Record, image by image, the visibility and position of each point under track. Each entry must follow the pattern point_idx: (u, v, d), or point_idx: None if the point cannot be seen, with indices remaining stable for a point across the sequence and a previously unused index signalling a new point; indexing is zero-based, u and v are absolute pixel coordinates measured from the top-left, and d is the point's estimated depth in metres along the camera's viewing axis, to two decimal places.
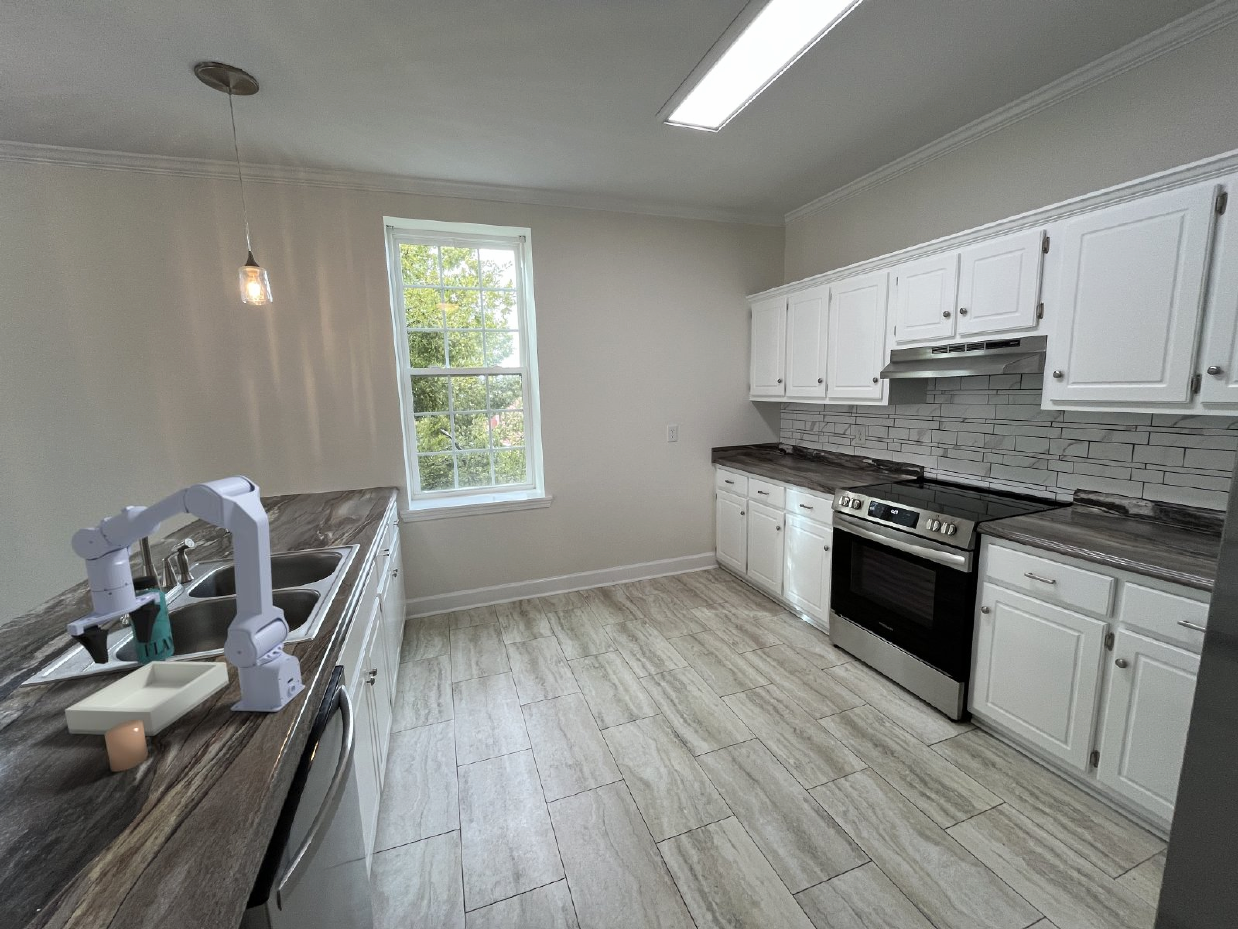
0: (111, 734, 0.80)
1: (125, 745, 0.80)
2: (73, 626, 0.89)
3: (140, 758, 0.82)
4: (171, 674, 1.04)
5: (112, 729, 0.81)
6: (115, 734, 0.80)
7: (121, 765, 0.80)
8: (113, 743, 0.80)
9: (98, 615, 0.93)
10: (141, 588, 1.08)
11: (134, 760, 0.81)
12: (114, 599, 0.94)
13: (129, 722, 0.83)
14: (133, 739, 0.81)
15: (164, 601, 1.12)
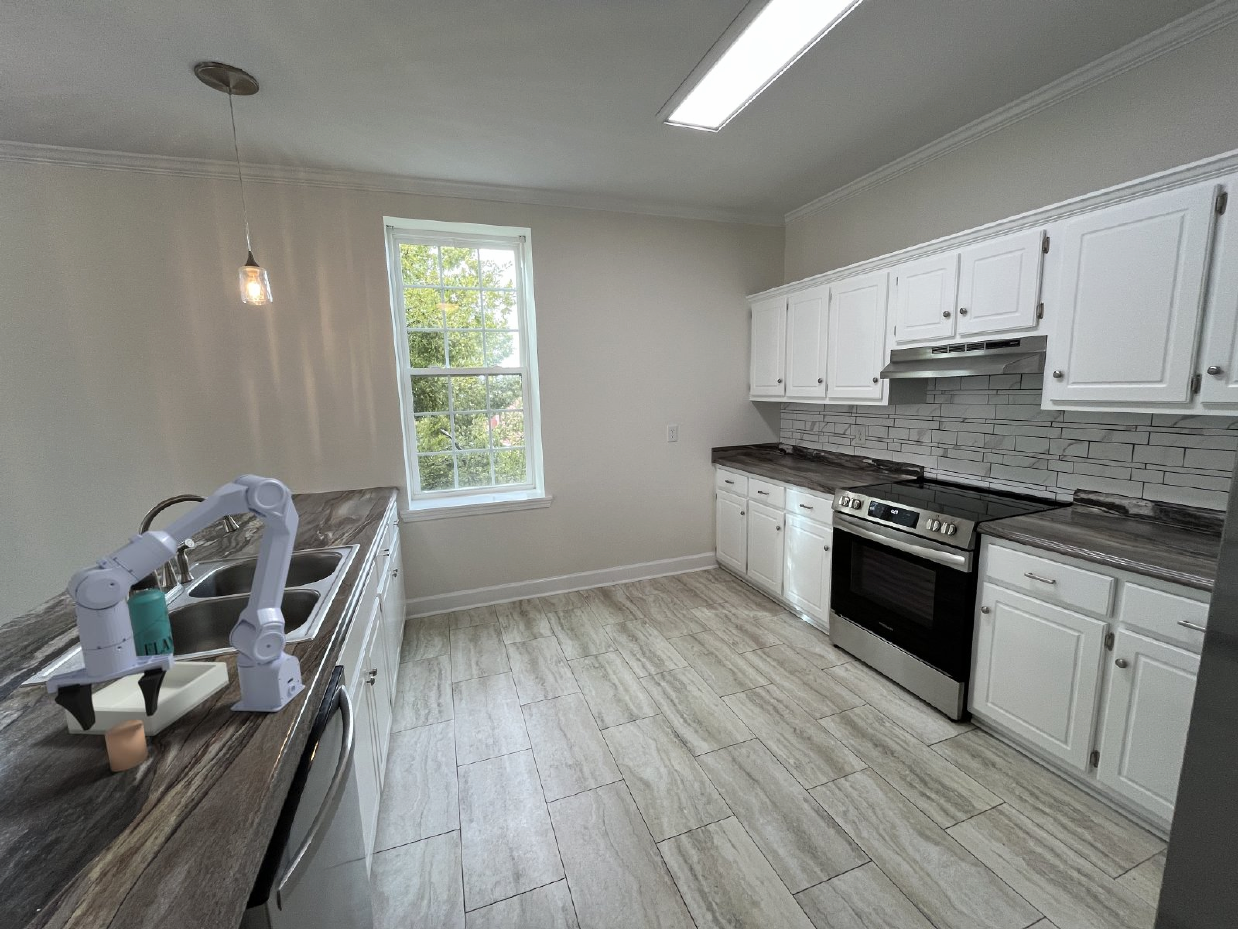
0: (111, 734, 0.80)
1: (125, 745, 0.80)
2: (47, 681, 0.76)
3: (140, 758, 0.82)
4: (171, 674, 1.04)
5: (112, 729, 0.81)
6: (115, 734, 0.80)
7: (121, 765, 0.80)
8: (113, 743, 0.80)
9: (85, 673, 0.78)
10: (141, 588, 1.08)
11: (134, 760, 0.81)
12: (88, 662, 0.77)
13: (129, 722, 0.83)
14: (133, 739, 0.81)
15: (164, 601, 1.12)
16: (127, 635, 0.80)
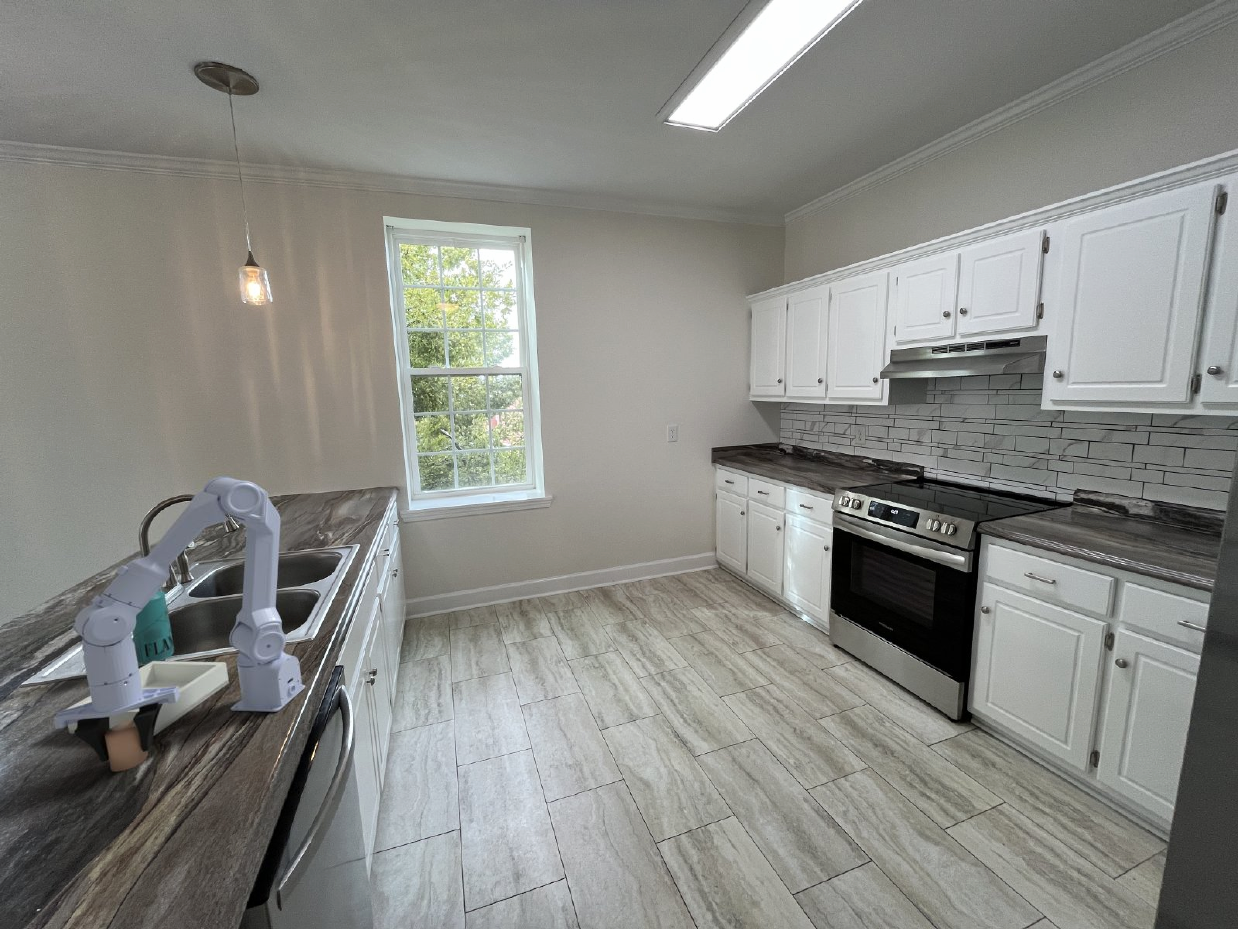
0: (111, 734, 0.80)
1: (125, 745, 0.80)
2: None
3: (140, 758, 0.82)
4: (171, 674, 1.04)
5: (112, 729, 0.81)
6: (115, 734, 0.80)
7: (121, 765, 0.80)
8: (113, 743, 0.80)
9: (92, 708, 0.79)
10: None
11: (134, 760, 0.81)
12: (95, 697, 0.78)
13: (129, 722, 0.83)
14: (133, 739, 0.81)
15: (164, 601, 1.12)
16: (133, 670, 0.81)
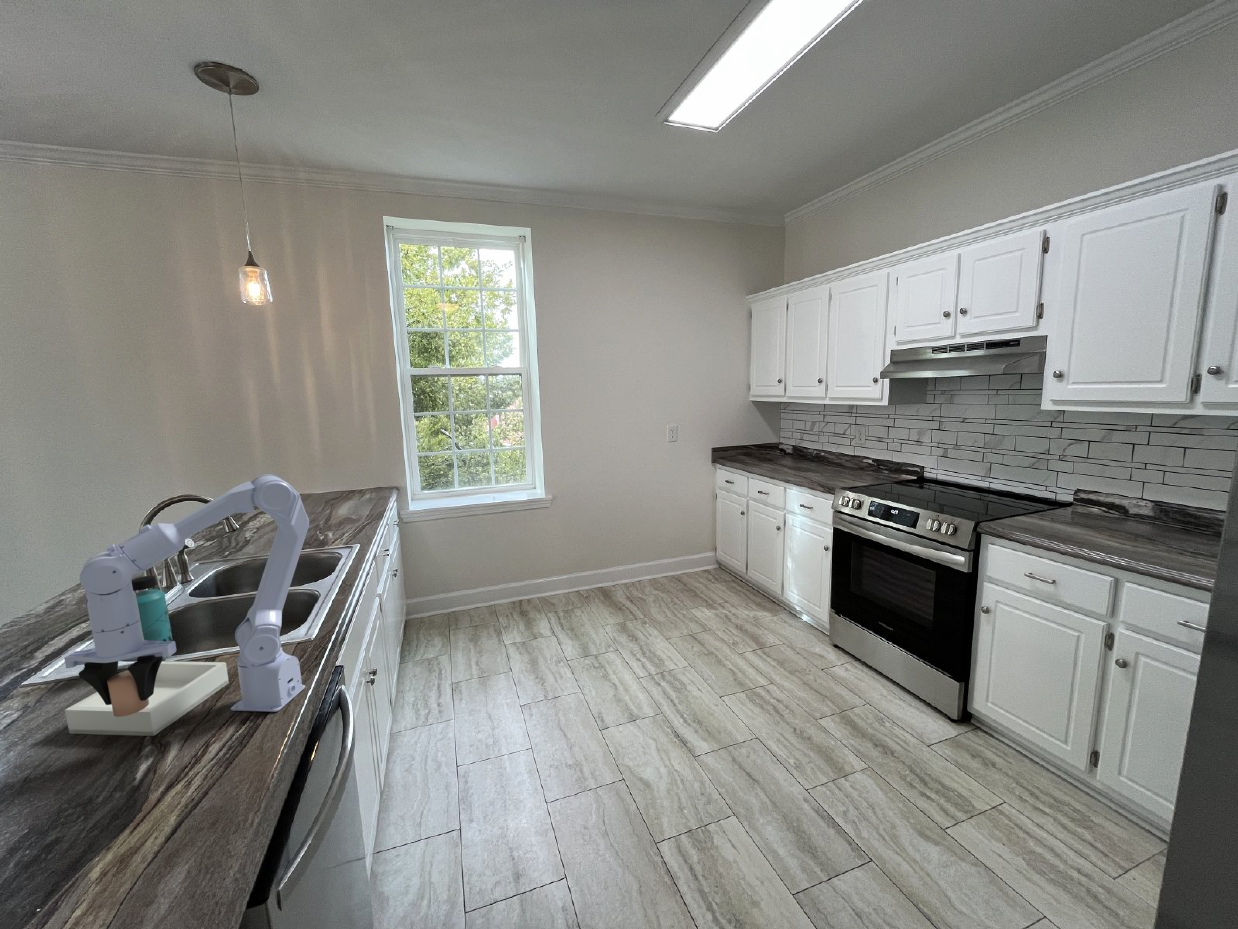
0: (112, 680, 0.83)
1: (123, 692, 0.83)
2: (66, 657, 0.82)
3: (138, 706, 0.85)
4: (171, 674, 1.04)
5: (116, 675, 0.85)
6: (115, 680, 0.83)
7: (119, 711, 0.83)
8: (112, 689, 0.83)
9: None
10: (141, 588, 1.08)
11: (132, 708, 0.84)
12: (95, 643, 0.81)
13: None
14: (130, 687, 0.84)
15: (164, 601, 1.12)
16: (131, 620, 0.83)
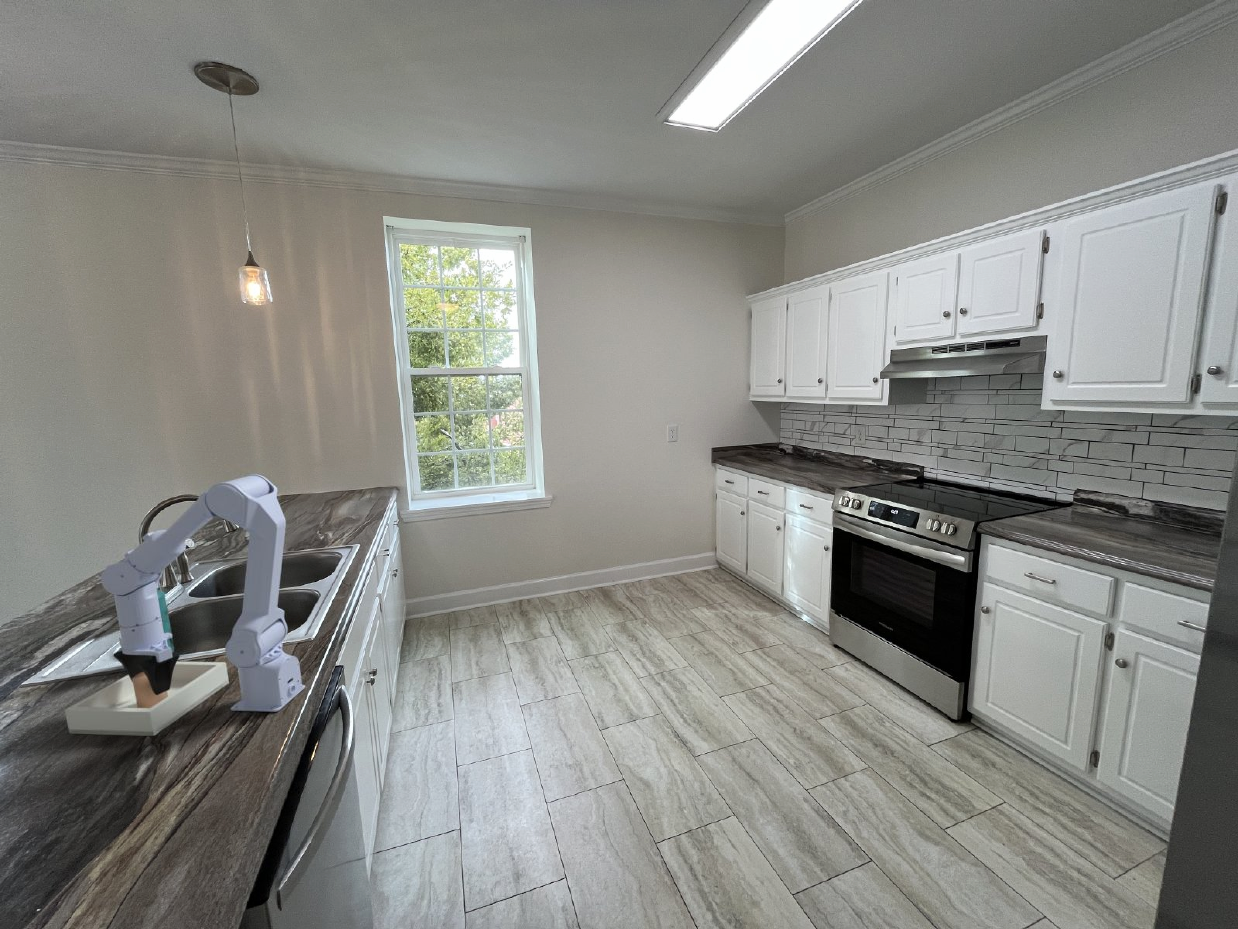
0: (137, 676, 0.95)
1: (138, 690, 0.94)
2: None
3: (150, 705, 0.95)
4: None
5: None
6: (137, 677, 0.95)
7: (137, 705, 0.94)
8: (133, 684, 0.94)
9: None
10: None
11: (145, 705, 0.94)
12: None
13: None
14: (144, 687, 0.94)
15: (164, 601, 1.12)
16: (141, 621, 0.92)
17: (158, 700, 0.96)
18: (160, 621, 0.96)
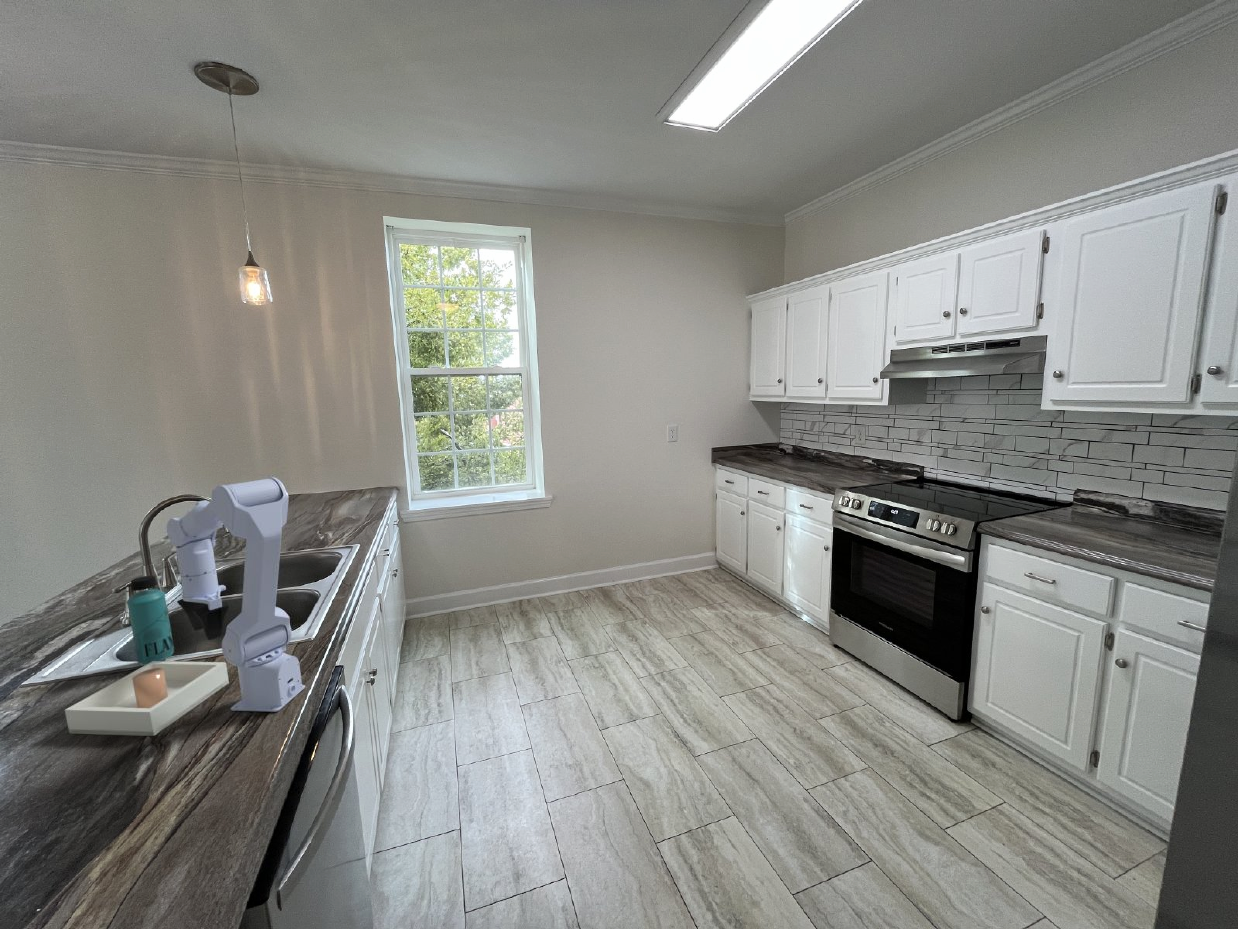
0: (137, 676, 0.95)
1: (138, 690, 0.94)
2: None
3: (150, 705, 0.95)
4: (171, 674, 1.04)
5: (146, 671, 0.97)
6: (137, 677, 0.95)
7: (137, 705, 0.94)
8: (133, 684, 0.94)
9: None
10: (141, 588, 1.08)
11: (145, 705, 0.94)
12: None
13: (158, 670, 0.97)
14: (144, 687, 0.94)
15: (164, 601, 1.12)
16: (190, 573, 1.01)
17: (158, 700, 0.96)
18: (215, 573, 1.05)
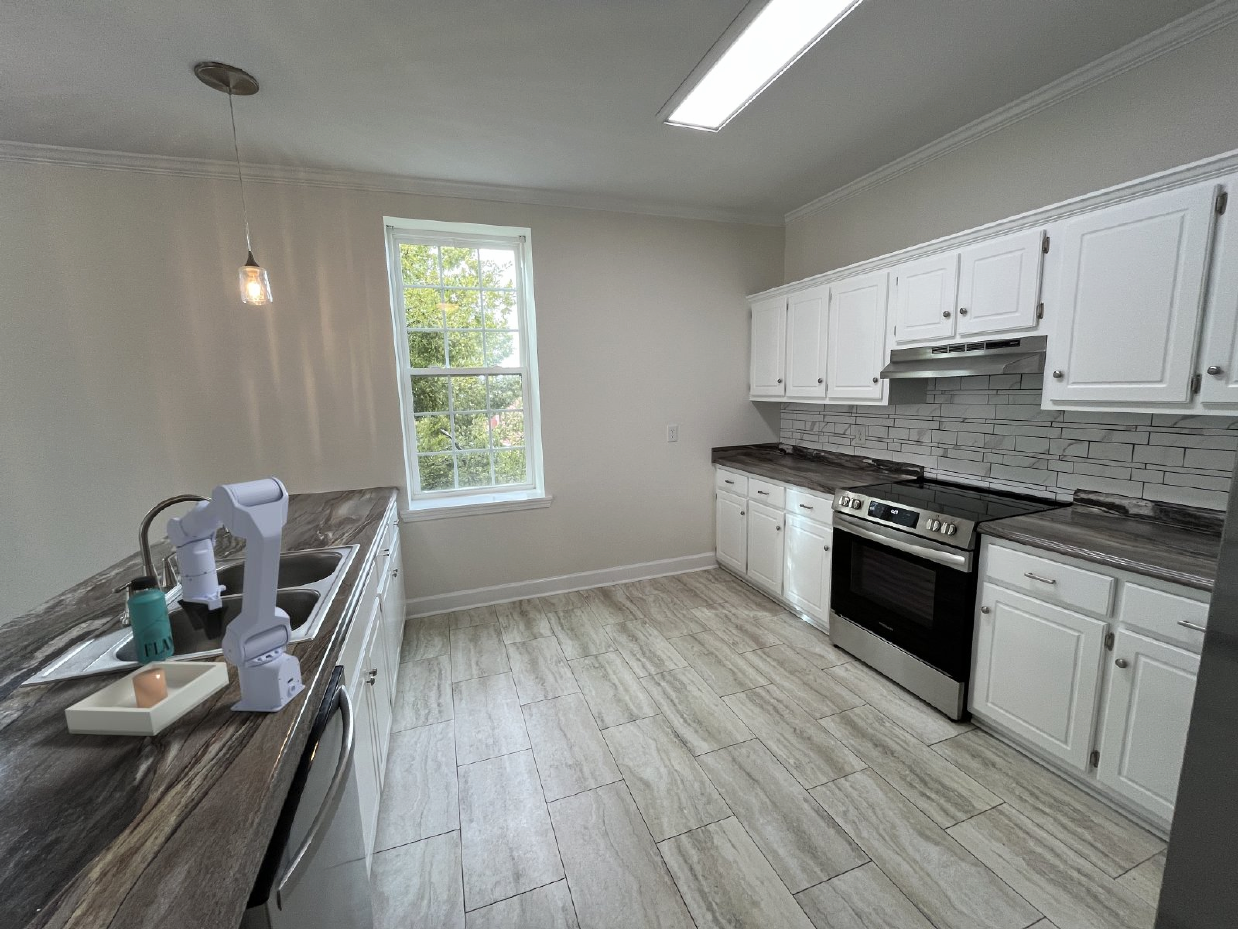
0: (137, 676, 0.95)
1: (138, 690, 0.94)
2: None
3: (150, 705, 0.95)
4: (171, 674, 1.04)
5: (146, 671, 0.97)
6: (137, 677, 0.95)
7: (137, 705, 0.94)
8: (133, 684, 0.94)
9: None
10: (141, 588, 1.08)
11: (145, 705, 0.94)
12: None
13: (158, 670, 0.97)
14: (144, 687, 0.94)
15: (164, 601, 1.12)
16: (190, 573, 1.01)
17: (158, 700, 0.96)
18: (215, 573, 1.05)
